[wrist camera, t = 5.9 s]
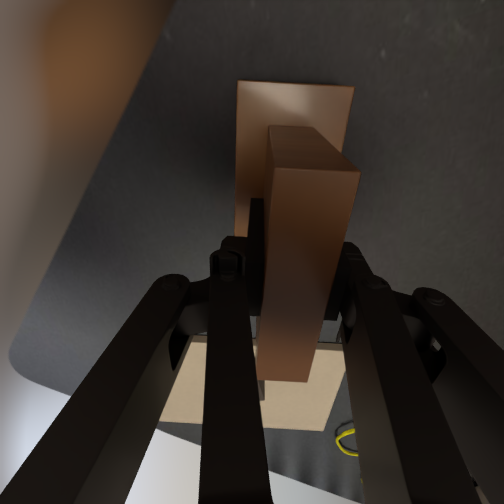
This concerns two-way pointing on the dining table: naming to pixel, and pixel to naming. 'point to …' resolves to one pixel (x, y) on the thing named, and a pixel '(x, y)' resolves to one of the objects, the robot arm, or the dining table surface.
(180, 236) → the dining table surface
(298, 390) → the tile
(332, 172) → the brown stepped block
